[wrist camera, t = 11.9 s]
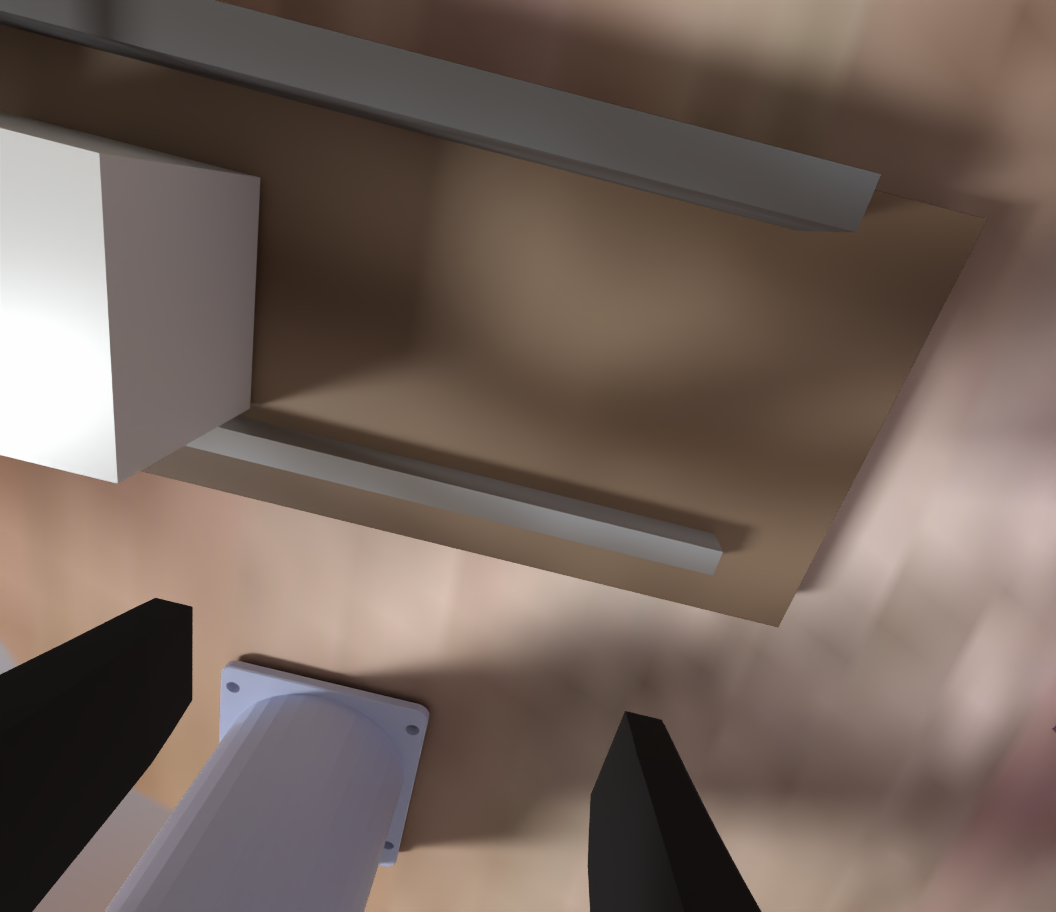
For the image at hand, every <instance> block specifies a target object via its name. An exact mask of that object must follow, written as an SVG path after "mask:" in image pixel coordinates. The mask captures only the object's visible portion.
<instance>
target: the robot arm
mask: <svg viewBox="0 0 1056 912" xmlns="http://www.w3.org/2000/svg"><path fill="white" fill-rule="evenodd" d="M191 701H192V607H191V606H187V605H183V604H179V603H175V602H170V601H166V600H162V599H158V598H154V599H152V600H150V601H148V602H146V603H144V604H142V605H139V606H137V607H135V608H133V609H131V610H129V611H127V612H125V613H123V614H121V615H119V616H117V617H115V618H113V619H111V620H109V621H107V622H105V623H103V624H101V625H99V626H97V627H95V628H93V629H91V630H89V631H87V632H85V633H83V634H81V635H79V636H77V637H76V638H74V639H72V640H70V641H68V642H66V643H64V644H62V645H60V646H58V647H56V648H54V649H51V650H49V651H47V652H45V653H43V654H41V655H39V656H37V657H35V658H33V659H31V660H29V661H27V662H25V663H23V664H21V665H19V666H17V667H15V668H13V669H11V670H9V671H7V672H5V673H3V674H1V675H0V912H32V911H33V910H34V909H35V908H36V906H37V905H38V904H39V903H40V902H41V900H42V899H43V898H44V897H45V895H46V894H47V893H48V892H49V890H50V889H51V888H52V887H53V885H54V884H55V883H56V882H57V880H58V879H59V878H60V877H61V875H62V874H63V873H64V872H65V870H66V869H67V868H68V867H69V865H70V864H71V863H72V862H73V860H74V859H75V858H76V857H77V855H79V853H80V852H81V851H82V850H83V848H84V847H85V846H86V845H87V843H88V842H89V841H90V839H91V838H92V837H93V836H94V835H95V833H96V832H97V831H98V830H99V829H100V827H101V826H102V825H103V824H104V822H105V821H106V820H107V819H108V817H109V816H110V815H111V814H112V812H113V811H114V810H115V809H116V807H117V806H118V805H119V804H120V802H121V801H122V800H123V799H124V797H125V796H126V795H127V794H128V792H129V791H130V790H131V789H132V787H133V786H134V785H135V784H136V782H137V781H138V780H139V779H140V777H141V776H142V775H143V774H144V772H145V771H146V770H147V768H148V767H149V766H150V765H151V763H152V762H153V760H154V759H155V757H156V756H157V754H158V753H159V751H160V750H161V748H162V747H163V745H164V744H165V742H166V741H167V739H168V738H169V736H170V735H171V733H172V732H173V730H174V728H175V727H176V725H177V724H178V722H179V720H180V719H181V717H182V716H183V714H184V712H185V711H186V709H187V708H188V706H189V704H190V703H191ZM428 720H429V712H428V710H427V709H426V708H425V707H424V706H423V705H420V704H417V703H413V702H408V701H404V700H400V699H396V698H392V697H388V696H383V695H379V694H375V693H371V692H367V691H362V690H358V689H354V688H350V687H346V686H342V685H337V684H333V683H329V682H325V681H321V680H317V679H312V678H308V677H304V676H300V675H296V674H292V673H287V672H283V671H279V670H275V669H271V668H266V667H262V666H258V665H254V664H250V663H246V662H241V661H231V662H229V663H228V664H227V665H226V666H225V667H224V668H223V670H222V672H221V697H220V731H219V745H218V746H217V748H216V749H215V751H214V752H213V754H212V755H211V757H210V758H209V759H208V761H207V762H206V764H205V765H204V767H203V768H202V770H201V771H200V773H199V774H198V775H197V777H196V778H195V780H194V781H193V783H192V784H191V786H190V787H189V789H188V790H187V792H186V793H185V794H184V796H183V797H182V799H181V800H180V802H179V803H178V805H177V806H176V808H175V809H174V811H173V812H172V813H171V815H170V816H169V818H168V819H167V821H166V822H165V824H164V825H163V827H162V828H161V830H160V831H159V833H158V834H157V835H156V837H155V838H154V840H153V841H152V843H151V844H150V846H149V847H148V849H147V850H146V851H145V853H144V854H143V856H142V857H141V859H140V860H139V862H138V863H137V865H136V866H135V868H134V869H133V870H132V872H131V873H130V875H129V876H128V878H127V879H126V881H125V882H124V884H123V885H122V886H121V888H120V889H119V891H118V892H117V894H116V895H115V897H114V898H113V900H112V901H111V903H110V904H109V905H108V907H107V908H106V910H105V911H104V912H364V910H365V907H366V903H367V900H368V897H369V894H370V890H371V887H372V884H373V881H374V877H375V874H376V871H377V868H378V865H380V866H386V867H388V866H392V865H394V864H395V862H396V860H397V856H398V852H399V848H400V844H401V839H402V835H403V830H404V826H405V822H406V817H407V813H408V808H409V804H410V800H411V795H412V791H413V786H414V782H415V777H416V773H417V769H418V764H419V760H420V755H421V751H422V747H423V742H424V738H425V733H426V729H427V725H428ZM411 725H414V726H416V727H414V726H411ZM588 879H589V898H590V912H761V910H760V908H759V907H758V905H757V903H756V901H755V899H754V898H753V896H752V894H751V892H750V891H749V889H748V887H747V885H746V883H745V882H744V880H743V878H742V876H741V874H740V873H739V871H738V869H737V867H736V865H735V863H734V861H733V860H732V858H731V856H730V854H729V852H728V850H727V848H726V847H725V845H724V843H723V841H722V839H721V837H720V835H719V834H718V832H717V830H716V828H715V826H714V824H713V822H712V820H711V818H710V816H709V814H708V812H707V810H706V808H705V806H704V804H703V802H702V800H701V798H700V796H699V794H698V792H697V790H696V788H695V786H694V784H693V782H692V780H691V778H690V776H689V774H688V772H687V770H686V768H685V766H684V764H683V762H682V760H681V758H680V756H679V754H678V752H677V750H676V748H675V745H674V743H673V741H672V739H671V737H670V735H669V733H668V731H667V729H666V727H665V725H664V723H663V722H662V720H660V719H656V718H652V717H648V716H643V715H639V714H635V713H631V712H627V711H625V713H624V715H623V718H622V720H621V723H620V725H619V727H618V730H617V732H616V735H615V737H614V740H613V742H612V745H611V747H610V749H609V752H608V754H607V757H606V759H605V762H604V764H603V766H602V769H601V771H600V774H599V776H598V779H597V781H596V784H595V786H594V788H593V791H592V793H591V802H590V822H589V846H588Z"/></svg>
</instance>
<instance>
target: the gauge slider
mask: <svg viewBox="0 0 1056 912" xmlns="http://www.w3.org/2000/svg"><path fill="white" fill-rule="evenodd" d="M259 198H260V177H257V176H253V175H249V174H245V173H241V172H237V171H233V170H229V169H225V168H222V167H218V166H214V165H210V164H206V163H202V162H198V161H194V160H190V159H186V158H182V157H179V156H175V155H171V154H167V153H163V152H159V151H155V150H151V149H147V148H143V147H139V146H136V145H132V144H128V143H124V142H120V141H116V140H112V139H108V138H104V137H100V136H96V135H93V134H89V133H85V132H81V131H77V130H73V129H69V128H65V127H61V126H57V125H54V124H50V123H46V122H42V121H38V120H34V119H30V118H26V117H22V116H18V115H14V114H9V113H4V112H0V455H3V456H7V457H11V458H15V459H19V460H23V461H27V462H32V463H36V464H40V465H44V466H48V467H52V468H56V469H60V470H64V471H68V472H72V473H77V474H81V475H85V476H89V477H93V478H97V479H101V480H105V481H109V482H113V483H117V484H118V483H119V482H121V481H123V480H125V479H127V478H128V477H130V476H132V475H134V474H135V473H137V472H139V471H141V470H142V469H144V468H146V467H148V466H149V465H151V464H153V463H155V462H157V461H158V460H160V459H162V458H164V457H165V456H167V455H169V454H171V453H172V452H174V451H176V450H178V449H180V448H181V447H183V446H185V445H187V444H188V443H190V442H192V441H194V440H195V439H197V438H199V437H201V436H202V435H204V434H206V433H208V432H210V431H211V430H213V429H215V428H217V427H218V426H220V425H222V424H224V423H225V422H227V421H229V420H231V419H233V418H234V417H236V416H238V415H240V414H241V413H243V412H245V411H247V410H248V409H250V400H251V377H252V355H253V332H254V310H255V287H256V265H257V242H258V220H259Z"/></svg>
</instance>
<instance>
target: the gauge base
mask: <svg viewBox="0 0 1056 912" xmlns="http://www.w3.org/2000/svg"><path fill="white" fill-rule="evenodd" d="M0 112H4V113H9V114H14V115H18V116H22V117H26V118H30V119H34V120H38V121H42V122H46V123H50V124H54V125H57V126H61V127H65V128H69V129H73V130H77V131H81V132H85V133H89V134H93V135H96V136H100V137H104V138H108V139H112V140H116V141H120V142H124V143H128V144H132V145H136V146H139V147H143V148H147V149H151V150H155V151H159V152H163V153H167V154H171V155H175V156H179V157H182V158H186V159H190V160H194V161H198V162H202V163H206V164H210V165H214V166H218V167H222V168H225V169H229V170H233V171H237V172H241V173H245V174H249V175H253V176H257V177H260V198H259V220H258V242H257V265H256V287H255V310H254V332H253V355H252V377H251V400H250V409H248V410H247V411H245V412H243V413H241V414H240V415H238V416H236V417H234V418H233V419H231V420H229V421H227V422H225V423H224V424H222V425H220V426H218V427H217V428H215V429H213V430H211V431H210V432H208V433H206V434H204V435H202V436H201V437H199V438H197V439H195V440H194V441H192V442H190V443H188V444H187V445H185V446H183V447H181V448H180V449H178V450H176V451H174V452H172V453H171V454H169V455H167V456H165V457H164V458H162V459H160V460H158V461H157V462H155V463H153V464H151V465H149V466H148V467H146V468H144V469H142V470H141V471H142V472H146V473H151V474H155V475H159V476H163V477H167V478H171V479H175V480H179V481H183V482H187V483H191V484H195V485H200V486H204V487H208V488H212V489H216V490H220V491H224V492H228V493H232V494H236V495H240V496H244V497H248V498H253V499H257V500H261V501H265V502H269V503H273V504H277V505H281V506H285V507H289V508H293V509H297V510H302V511H306V512H310V513H314V514H318V515H322V516H326V517H330V518H334V519H338V520H342V521H346V522H350V523H355V524H359V525H363V526H367V527H371V528H375V529H379V530H383V531H387V532H391V533H395V534H399V535H404V536H408V537H412V538H416V539H420V540H424V541H428V542H432V543H436V544H440V545H444V546H448V547H452V548H457V549H461V550H465V551H469V552H473V553H477V554H481V555H485V556H489V557H493V558H497V559H501V560H505V561H510V562H514V563H518V564H522V565H526V566H530V567H534V568H538V569H542V570H546V571H550V572H554V573H559V574H563V575H567V576H571V577H575V578H579V579H583V580H587V581H591V582H595V583H599V584H603V585H607V586H612V587H616V588H620V589H624V590H628V591H632V592H636V593H640V594H644V595H648V596H652V597H656V598H661V599H665V600H669V601H673V602H677V603H681V604H685V605H689V606H693V607H697V608H701V609H705V610H709V611H714V612H718V613H722V614H726V615H730V616H734V617H738V618H742V619H746V620H750V621H754V622H758V623H762V624H767V625H771V626H775V627H779V625H780V623H781V621H782V619H783V617H784V615H785V613H786V611H787V609H788V607H789V605H790V603H791V601H792V599H793V597H794V596H795V594H796V592H797V590H798V588H799V586H800V584H801V582H802V580H803V578H804V576H805V574H806V572H807V570H808V568H809V566H810V564H811V562H812V560H813V559H814V557H815V555H816V553H817V551H818V549H819V547H820V545H821V543H822V541H823V539H824V537H825V535H826V533H827V531H828V529H829V527H830V525H831V523H832V521H833V520H834V518H835V516H836V514H837V512H838V510H839V508H840V506H841V504H842V502H843V500H844V498H845V496H846V494H847V492H848V490H849V488H850V486H851V484H852V483H853V481H854V479H855V477H856V475H857V473H858V471H859V469H860V467H861V465H862V463H863V461H864V459H865V457H866V455H867V453H868V451H869V449H870V447H871V446H872V444H873V442H874V440H875V438H876V436H877V434H878V432H879V430H880V428H881V426H882V424H883V422H884V420H885V418H886V416H887V414H888V412H889V410H890V409H891V407H892V405H893V403H894V401H895V399H896V397H897V395H898V393H899V391H900V389H901V387H902V385H903V383H904V381H905V379H906V377H907V375H908V373H909V372H910V370H911V368H912V366H913V364H914V362H915V360H916V358H917V356H918V354H919V352H920V350H921V348H922V346H923V344H924V342H925V340H926V338H927V336H928V335H929V333H930V331H931V329H932V327H933V325H934V323H935V321H936V319H937V317H938V315H939V313H940V311H941V309H942V307H943V305H944V303H945V301H946V299H947V298H948V296H949V294H950V292H951V290H952V288H953V286H954V284H955V282H956V280H957V278H958V276H959V274H960V272H961V270H962V268H963V266H964V264H965V262H966V260H967V259H968V257H969V255H970V253H971V251H972V249H973V247H974V245H975V243H976V241H977V239H978V237H979V235H980V233H981V231H982V229H983V227H984V225H985V223H986V222H987V220H988V219H984V218H980V217H976V216H973V215H969V214H965V213H961V212H957V211H953V210H950V209H946V208H942V207H938V206H934V205H930V204H927V203H923V202H919V201H915V200H911V199H907V198H904V197H900V196H896V195H892V194H888V193H884V192H881V191H877V190H875V188H876V186H877V183H878V181H879V179H880V176H881V174H878V173H874V172H871V171H867V170H863V169H859V168H855V167H851V166H848V165H844V164H840V163H836V162H832V161H828V160H825V159H821V158H817V157H813V156H809V155H805V154H802V153H798V152H794V151H790V150H786V149H783V148H779V147H775V146H771V145H767V144H763V143H760V142H756V141H752V140H748V139H744V138H740V137H737V136H733V135H729V134H725V133H721V132H717V131H714V130H710V129H706V128H702V127H698V126H695V125H691V124H687V123H683V122H679V121H675V120H672V119H668V118H664V117H660V116H656V115H652V114H649V113H645V112H641V111H637V110H633V109H629V108H626V107H622V106H618V105H614V104H610V103H607V102H603V101H599V100H595V99H591V98H587V97H584V96H580V95H576V94H572V93H568V92H564V91H561V90H557V89H553V88H549V87H545V86H541V85H538V84H534V83H530V82H526V81H522V80H519V79H515V78H511V77H507V76H503V75H499V74H496V73H492V72H488V71H484V70H480V69H476V68H473V67H469V66H465V65H461V64H457V63H453V62H450V61H446V60H442V59H438V58H434V57H430V56H427V55H423V54H419V53H415V52H411V51H408V50H404V49H400V48H396V47H392V46H388V45H385V44H381V43H377V42H373V41H369V40H365V39H362V38H358V37H354V36H350V35H346V34H342V33H339V32H335V31H331V30H327V29H323V28H320V27H316V26H312V25H308V24H304V23H300V22H297V21H293V20H289V19H285V18H281V17H277V16H274V15H270V14H266V13H262V12H258V11H254V10H251V9H247V8H243V7H239V6H235V5H232V4H228V3H224V2H220V1H216V0H0Z"/></svg>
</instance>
